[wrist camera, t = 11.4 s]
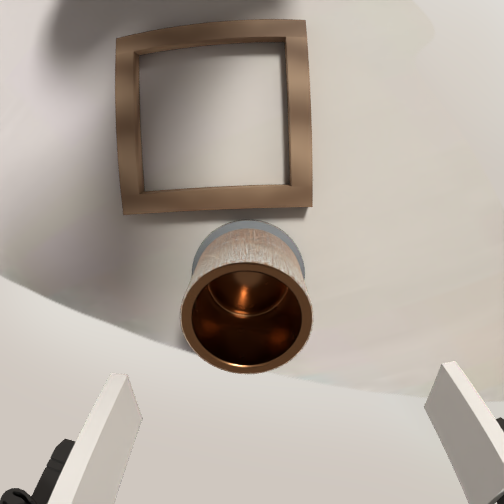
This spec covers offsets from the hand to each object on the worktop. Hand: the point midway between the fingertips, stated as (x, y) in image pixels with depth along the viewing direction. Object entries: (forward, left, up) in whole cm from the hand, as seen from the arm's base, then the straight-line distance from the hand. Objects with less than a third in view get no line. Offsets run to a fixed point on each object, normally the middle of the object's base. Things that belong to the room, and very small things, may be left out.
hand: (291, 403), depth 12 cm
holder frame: (-13, -5, -23) cm, 27 cm away
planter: (+4, -2, -22) cm, 23 cm away
